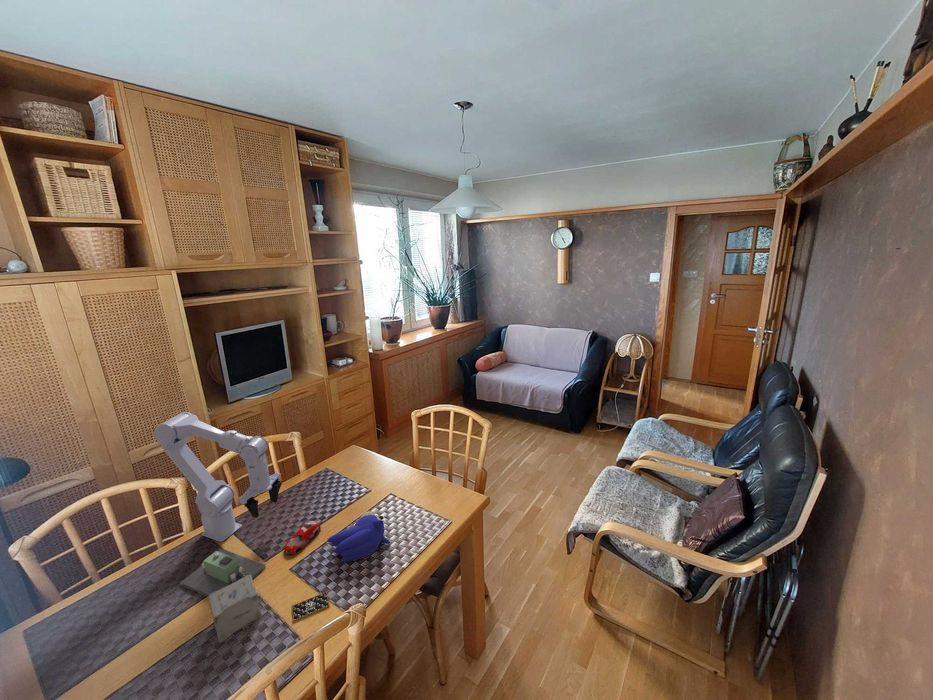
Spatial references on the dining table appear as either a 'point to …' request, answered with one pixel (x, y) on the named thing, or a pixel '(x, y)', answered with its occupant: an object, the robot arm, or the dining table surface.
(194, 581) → the chassis
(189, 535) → the dining table surface
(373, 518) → the toy
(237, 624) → the grey box
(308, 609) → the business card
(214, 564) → the green box
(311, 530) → the race car
